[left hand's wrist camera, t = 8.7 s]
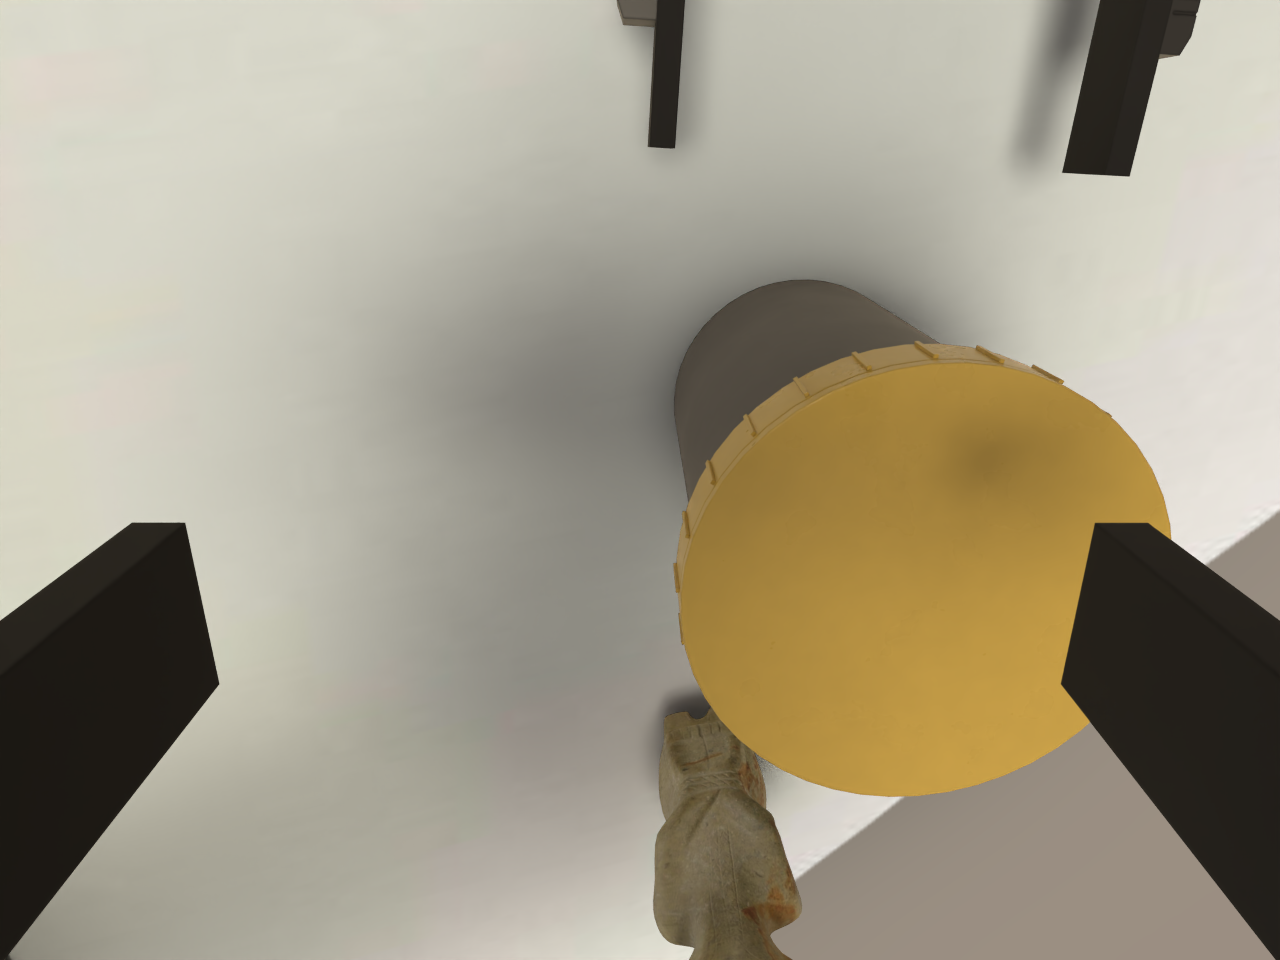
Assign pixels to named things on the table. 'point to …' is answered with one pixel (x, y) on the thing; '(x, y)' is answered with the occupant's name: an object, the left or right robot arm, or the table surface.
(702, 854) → the sculpture
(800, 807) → the table surface
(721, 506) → the lid
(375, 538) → the table surface
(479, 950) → the table surface
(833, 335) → the jar
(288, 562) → the table surface
